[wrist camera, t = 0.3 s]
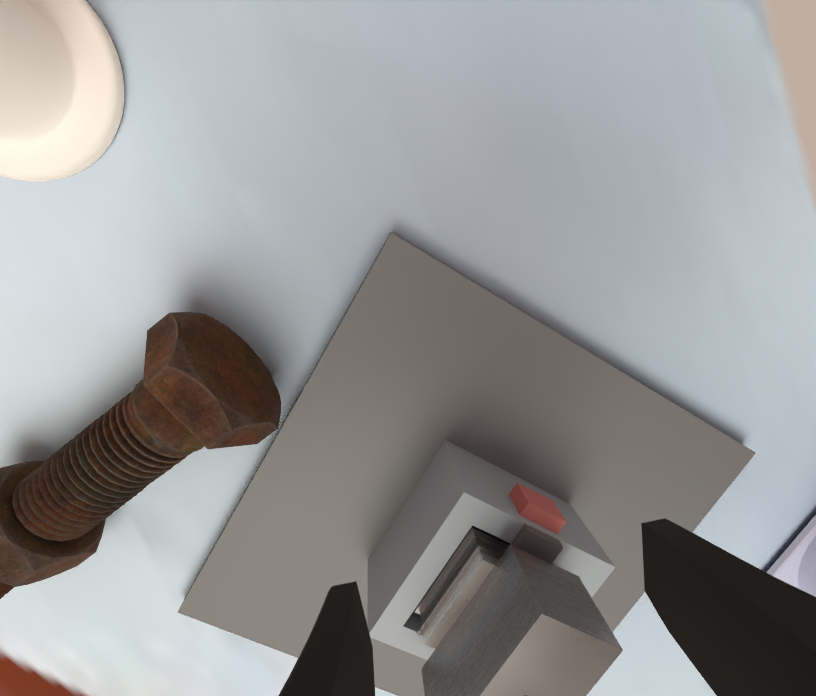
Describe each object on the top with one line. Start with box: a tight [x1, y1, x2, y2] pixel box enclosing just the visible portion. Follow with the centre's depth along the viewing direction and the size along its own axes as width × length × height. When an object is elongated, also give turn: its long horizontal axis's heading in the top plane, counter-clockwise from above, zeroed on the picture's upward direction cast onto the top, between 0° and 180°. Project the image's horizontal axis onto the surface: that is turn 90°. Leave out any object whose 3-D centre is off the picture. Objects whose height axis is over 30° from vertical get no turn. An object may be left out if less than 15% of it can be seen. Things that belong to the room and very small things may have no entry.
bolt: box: [0, 312, 281, 599], centre depth 18 cm, size 6×5×15 cm
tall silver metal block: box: [414, 525, 623, 696], centre depth 18 cm, size 4×6×8 cm
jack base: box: [178, 233, 755, 696], centre depth 20 cm, size 20×20×5 cm
